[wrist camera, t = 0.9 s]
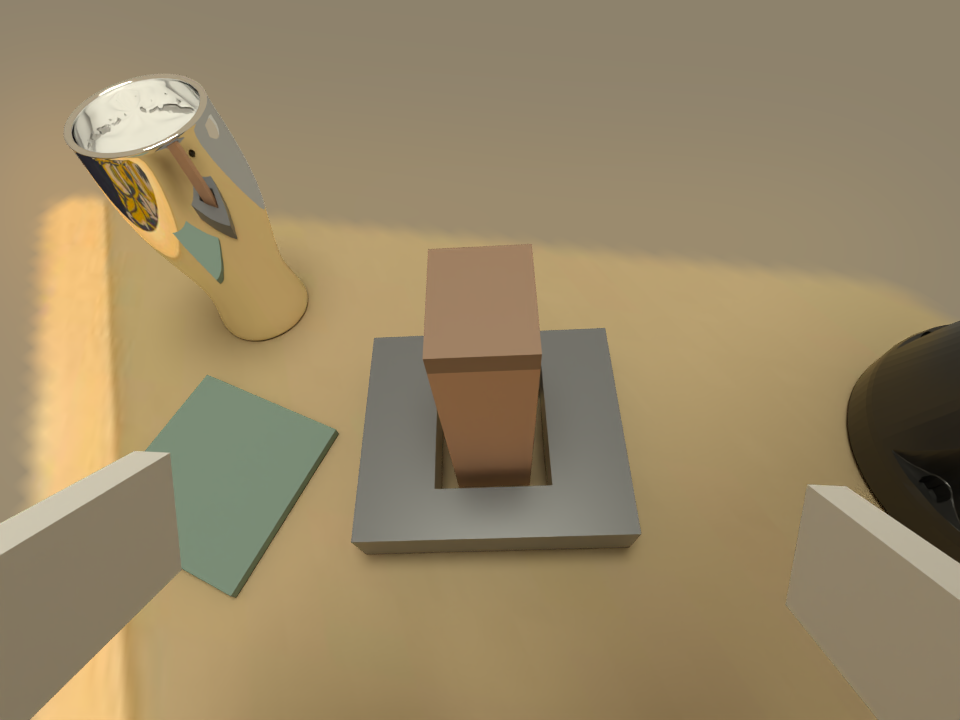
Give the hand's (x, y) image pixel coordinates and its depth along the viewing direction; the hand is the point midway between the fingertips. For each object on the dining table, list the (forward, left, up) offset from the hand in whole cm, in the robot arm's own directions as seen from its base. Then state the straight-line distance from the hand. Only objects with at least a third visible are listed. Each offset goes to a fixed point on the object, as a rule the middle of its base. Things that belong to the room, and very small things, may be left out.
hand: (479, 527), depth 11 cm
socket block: (+4, -8, -18) cm, 20 cm away
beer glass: (+23, -12, -18) cm, 31 cm away
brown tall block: (+4, -8, -18) cm, 20 cm away
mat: (+18, 0, -18) cm, 25 cm away
